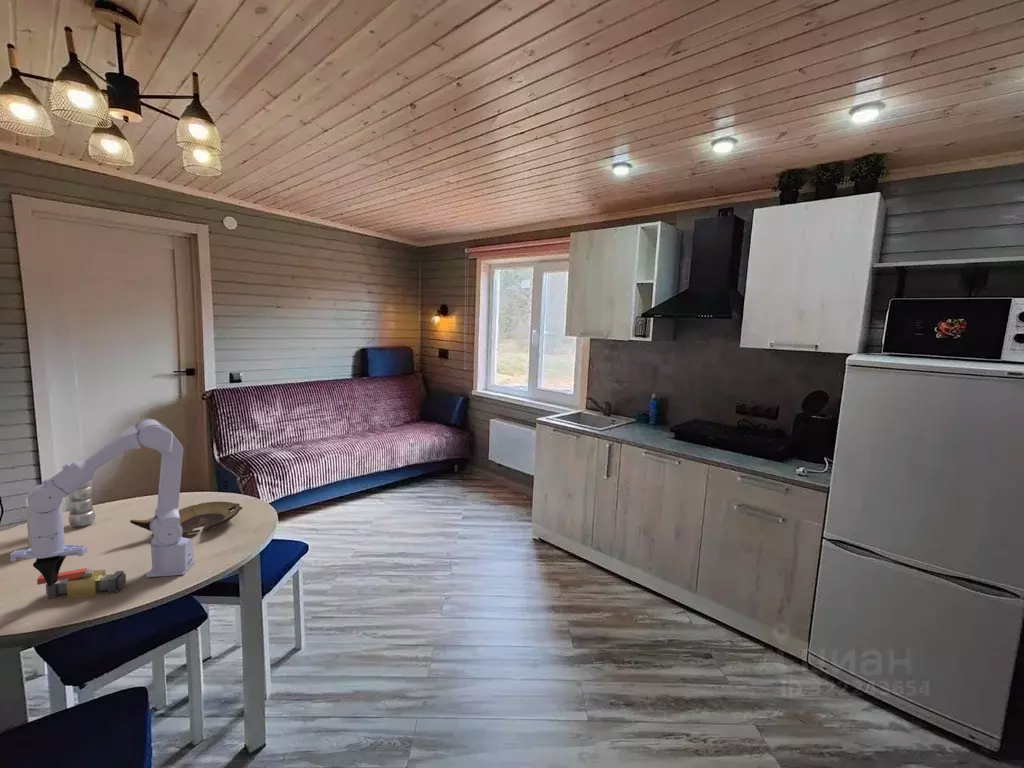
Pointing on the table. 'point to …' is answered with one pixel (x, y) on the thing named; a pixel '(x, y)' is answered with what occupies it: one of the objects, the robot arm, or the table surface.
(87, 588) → the pipe valve
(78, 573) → the lever
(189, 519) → the olive brown leaf dish
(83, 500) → the plastic bottle
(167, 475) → the robot arm
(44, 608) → the table surface
